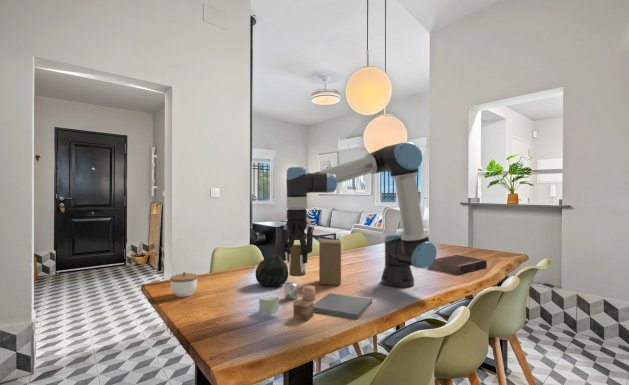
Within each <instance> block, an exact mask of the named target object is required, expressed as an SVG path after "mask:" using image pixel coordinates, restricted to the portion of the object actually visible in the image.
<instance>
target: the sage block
mask: <svg viewBox="0 0 629 385" xmlns="http://www.w3.org/2000/svg"><path fill="white" fill-rule="evenodd" d="M258 300H259V302H258V303H259V304H258V306H259V307H258V312H259V314H265V315H270V316H271V315H273V314H275V313H277V312H279V308H280V307H279V303H280V301H279V296H275V295H271V294H269V295H268V294H267V295H264V296H262V297H260V298H259V299H258Z"/></svg>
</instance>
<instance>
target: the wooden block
mask: <svg viewBox="0 0 629 385" xmlns="http://www.w3.org/2000/svg"><path fill="white" fill-rule="evenodd" d="M318 247H319V249H318V250H319V251H318V252H319V254H318V257H319V258H318V262H319V263H318V264H319V266H318V268H319V271H318V273H319V274H318V275H319V277H318V278H319V282H318V283H319V285H322V286H325V285H326V286H340V285H341V284H342V241H341V239H325V238H324V239H321V240H320V242H319V245H318Z"/></svg>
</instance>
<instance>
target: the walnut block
mask: <svg viewBox="0 0 629 385" xmlns="http://www.w3.org/2000/svg"><path fill="white" fill-rule="evenodd" d="M313 304H314V301H312V302H308V301H303V299H302V300H299V301H297V302H295V303H294V304H293V320H296V321H302V322H307V323H308V321H309V320H311V319H312V318H313V317H314V311H313Z"/></svg>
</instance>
